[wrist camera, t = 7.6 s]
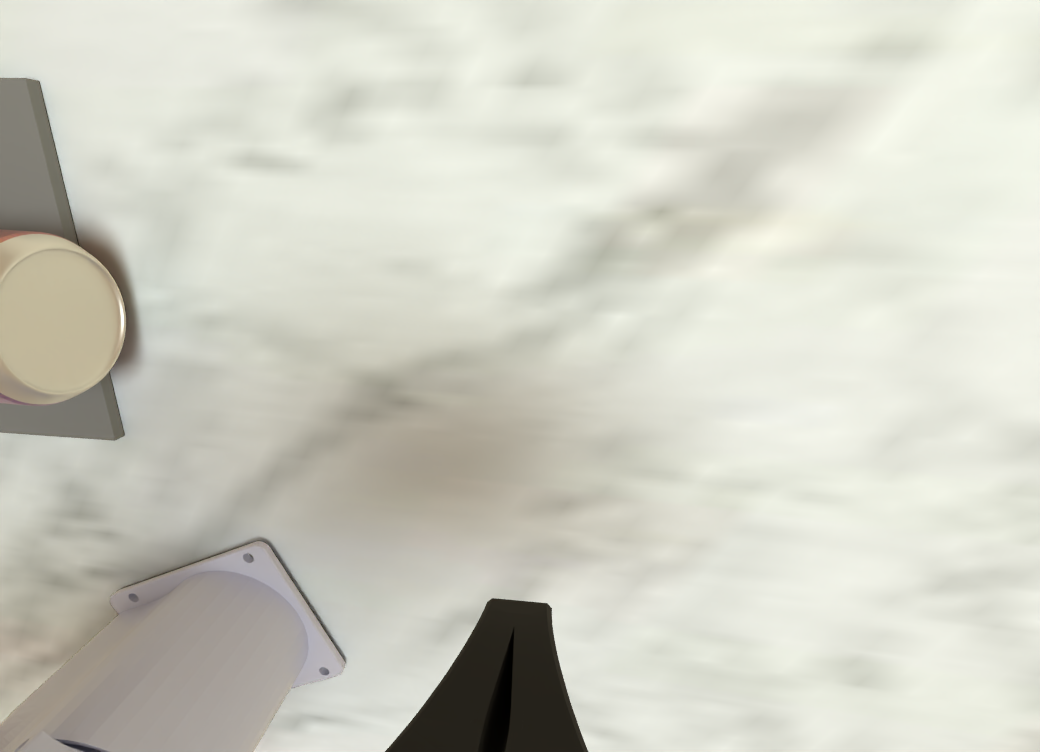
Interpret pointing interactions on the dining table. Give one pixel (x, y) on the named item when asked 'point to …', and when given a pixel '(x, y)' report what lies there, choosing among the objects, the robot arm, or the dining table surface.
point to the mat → (44, 208)
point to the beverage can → (54, 319)
